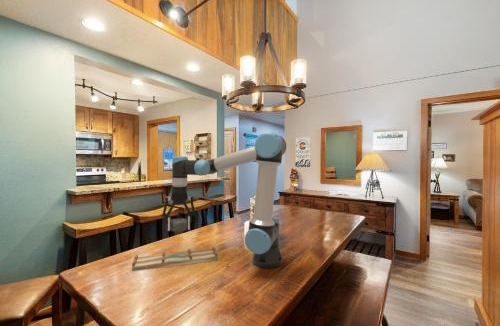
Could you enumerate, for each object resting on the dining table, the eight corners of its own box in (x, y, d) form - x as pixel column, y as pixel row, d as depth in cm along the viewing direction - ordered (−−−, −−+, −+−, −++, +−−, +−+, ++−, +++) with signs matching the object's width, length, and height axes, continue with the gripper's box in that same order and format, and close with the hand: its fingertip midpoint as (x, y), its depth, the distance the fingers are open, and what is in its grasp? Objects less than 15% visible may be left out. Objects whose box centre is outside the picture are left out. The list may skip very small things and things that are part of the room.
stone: (182, 226, 131) (185, 211, 127) (187, 237, 125) (190, 222, 121) (165, 228, 126) (168, 213, 122) (170, 240, 120) (172, 225, 116)
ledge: (217, 260, 122) (217, 253, 122) (132, 271, 109) (132, 263, 109) (214, 252, 132) (214, 246, 132) (135, 261, 120) (135, 254, 120)
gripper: (200, 185, 128) (199, 226, 128) (157, 185, 122) (156, 228, 122) (201, 186, 121) (201, 230, 121) (156, 187, 114) (155, 233, 115)
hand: (178, 229), depth 121 cm, fingers closed on stone, 9 cm apart
